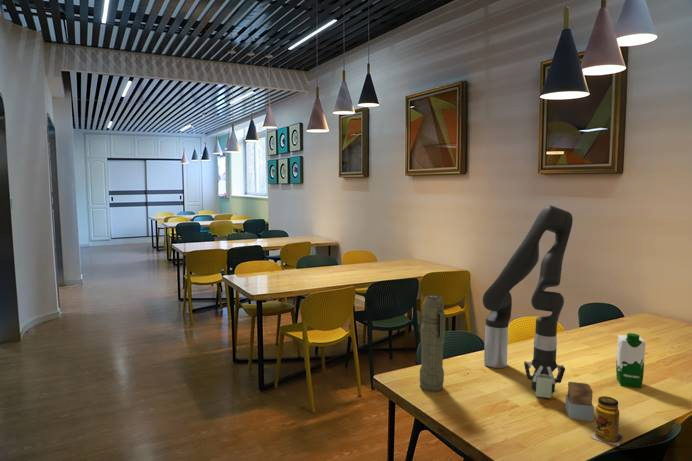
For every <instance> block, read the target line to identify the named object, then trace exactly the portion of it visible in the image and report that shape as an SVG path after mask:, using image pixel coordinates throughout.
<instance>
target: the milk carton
mask: <svg viewBox="0 0 692 461" xmlns="http://www.w3.org/2000/svg"><path fill="white" fill-rule="evenodd" d="M616 346H617V348H616V362H615V363H616V366H615V371H616V372H615V373H616V380H617V382H618V383H619V385H620V386H621V387H629V388H636V389H642V388H643V381H644V374H645V373H644V372H645V355H646V354H645V352H646V341H645V340H644V339H643V338H642V337H641V336H640V334H636V333H632V332H631V333H630V332H629V333H627V334H625V335H624V334H618V335H617V344H616Z"/></svg>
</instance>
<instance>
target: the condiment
mask: <svg viewBox="0 0 692 461" xmlns="http://www.w3.org/2000/svg"><path fill="white" fill-rule="evenodd" d="M595 411H596V412H595V413H596V414H595V428H594V431H593V434H592V435H591V437H590V438H591V439H594V440H596V441H600V442H602V443H606V444H610V445H613V446H617V447H619V446H620V444H621V442H622V439H623V437H624V436H625V434H623V433H619V426H620V410H619V401H618V400H617V399H615V398H613V397H611V396H606V395H605V396H602V395H601V396H599V397H598V399H597V405H596V407H595Z"/></svg>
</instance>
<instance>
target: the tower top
mask: <svg viewBox="0 0 692 461" xmlns="http://www.w3.org/2000/svg"><path fill="white" fill-rule="evenodd" d="M567 385H568V387H567V395H568V397H569V399H570V402H571V404H579V405H587V406H592V404H593V392H594V391H593V390H592V387H591V386H590V385H589V383H586V382H585V383H584V382H576V381H568V384H567Z"/></svg>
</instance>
